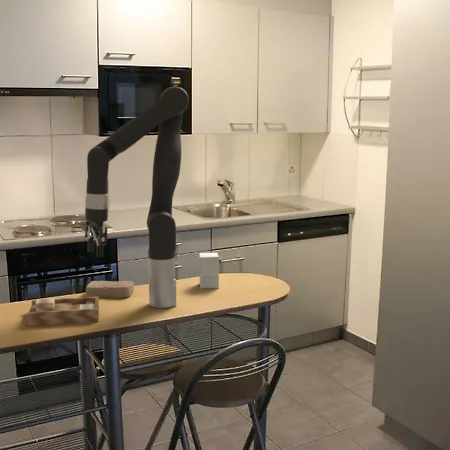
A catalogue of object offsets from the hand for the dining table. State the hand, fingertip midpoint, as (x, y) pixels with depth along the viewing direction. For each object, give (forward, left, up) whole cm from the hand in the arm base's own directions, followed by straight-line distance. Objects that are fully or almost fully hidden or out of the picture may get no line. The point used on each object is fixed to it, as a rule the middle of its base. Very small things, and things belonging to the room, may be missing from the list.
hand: (95, 254), depth 208 cm
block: (+16, +6, -16) cm, 24 cm away
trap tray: (+10, +6, -19) cm, 23 cm away
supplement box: (-43, -21, -20) cm, 51 cm away
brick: (-4, -17, -20) cm, 26 cm away
